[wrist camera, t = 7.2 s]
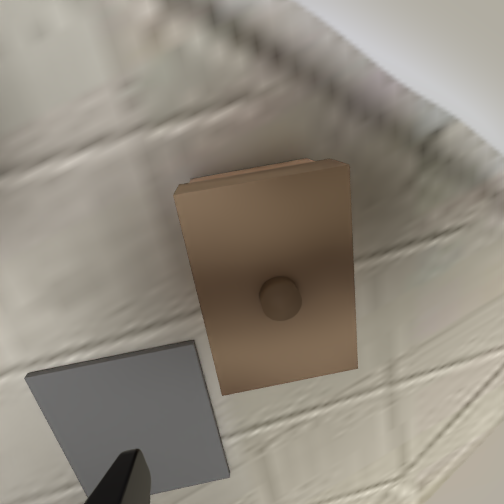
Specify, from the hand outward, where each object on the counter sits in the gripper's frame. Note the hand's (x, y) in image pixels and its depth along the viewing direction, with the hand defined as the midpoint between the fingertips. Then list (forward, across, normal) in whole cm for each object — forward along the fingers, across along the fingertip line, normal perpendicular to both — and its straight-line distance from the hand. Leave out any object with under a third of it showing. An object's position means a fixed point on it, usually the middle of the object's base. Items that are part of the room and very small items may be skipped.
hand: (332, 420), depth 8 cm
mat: (+12, +10, +11) cm, 19 cm away
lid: (+9, 0, 0) cm, 9 cm away
